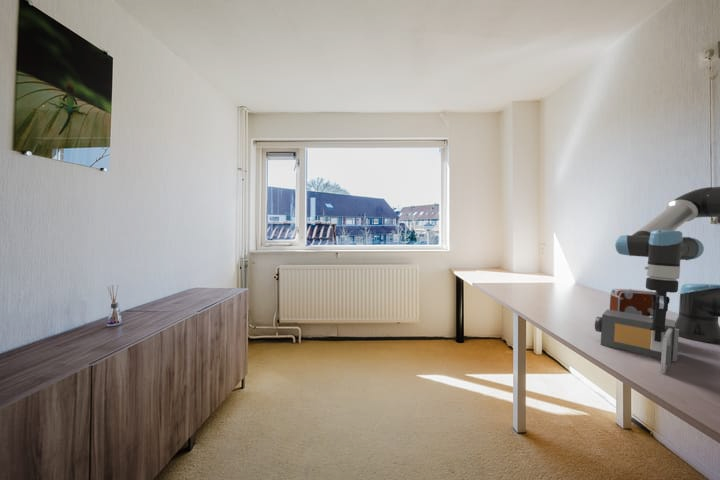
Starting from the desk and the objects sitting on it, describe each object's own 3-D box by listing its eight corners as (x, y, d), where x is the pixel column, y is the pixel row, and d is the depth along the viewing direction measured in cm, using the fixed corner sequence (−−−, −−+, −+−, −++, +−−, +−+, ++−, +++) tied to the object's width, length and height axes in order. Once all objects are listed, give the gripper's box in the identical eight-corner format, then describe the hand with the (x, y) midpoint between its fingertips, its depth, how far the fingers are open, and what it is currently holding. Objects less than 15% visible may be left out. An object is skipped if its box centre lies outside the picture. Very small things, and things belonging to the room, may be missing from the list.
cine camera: (673, 342, 128) (676, 294, 127) (618, 338, 132) (621, 290, 131) (656, 335, 137) (659, 289, 136) (605, 331, 141) (608, 286, 140)
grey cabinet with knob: (597, 336, 133) (599, 306, 133) (676, 353, 117) (679, 318, 116) (591, 343, 124) (593, 311, 124) (676, 362, 108) (679, 325, 107)
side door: (660, 371, 99) (662, 337, 98) (666, 359, 109) (668, 327, 109) (669, 374, 97) (671, 339, 97) (674, 361, 108) (676, 329, 107)
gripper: (645, 274, 109) (640, 342, 110) (647, 278, 99) (641, 352, 100) (676, 277, 104) (670, 348, 105) (681, 282, 94) (674, 359, 95)
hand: (656, 350), depth 102 cm, fingers closed
